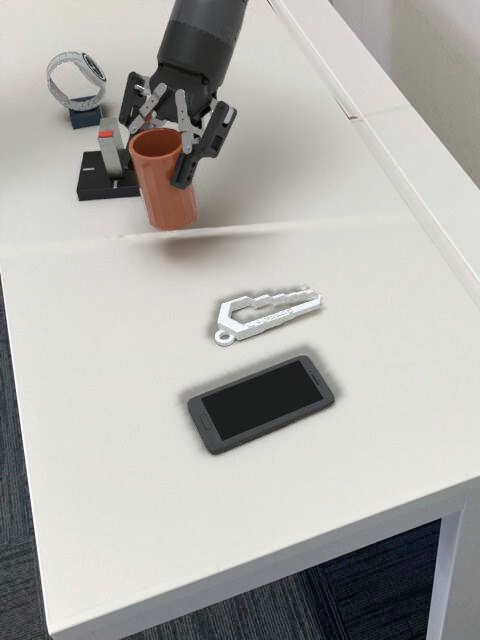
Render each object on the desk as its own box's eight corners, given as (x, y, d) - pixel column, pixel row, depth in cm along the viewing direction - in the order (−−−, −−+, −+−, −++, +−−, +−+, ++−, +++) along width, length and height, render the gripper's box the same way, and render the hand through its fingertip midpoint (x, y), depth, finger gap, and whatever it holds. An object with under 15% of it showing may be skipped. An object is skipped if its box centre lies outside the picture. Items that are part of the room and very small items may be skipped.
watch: (119, 130, 114) (101, 60, 106) (63, 140, 112) (40, 69, 104) (115, 111, 118) (97, 41, 109) (61, 120, 116) (38, 50, 108)
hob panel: (82, 209, 101) (75, 190, 99) (89, 169, 107) (83, 150, 105) (189, 201, 103) (185, 181, 100) (190, 162, 109) (186, 142, 106)
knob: (111, 157, 104) (100, 116, 99) (126, 156, 104) (115, 115, 100) (108, 178, 101) (96, 137, 96) (124, 177, 101) (113, 135, 96)
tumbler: (146, 233, 90) (126, 161, 83) (148, 201, 94) (130, 129, 87) (198, 228, 91) (184, 156, 83) (199, 197, 95) (185, 125, 87)
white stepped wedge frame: (308, 284, 92) (307, 273, 90) (326, 311, 89) (325, 300, 87) (204, 319, 88) (202, 308, 87) (219, 348, 85) (217, 338, 84)
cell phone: (185, 404, 80) (184, 399, 79) (307, 356, 84) (306, 352, 83) (211, 457, 75) (210, 452, 75) (337, 403, 80) (337, 399, 79)
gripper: (272, 61, 86) (221, 205, 88) (171, 31, 91) (126, 167, 93) (238, 35, 79) (184, 191, 81) (131, 3, 84) (83, 151, 86)
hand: (153, 178), depth 87 cm, fingers closed on tumbler, 6 cm apart
